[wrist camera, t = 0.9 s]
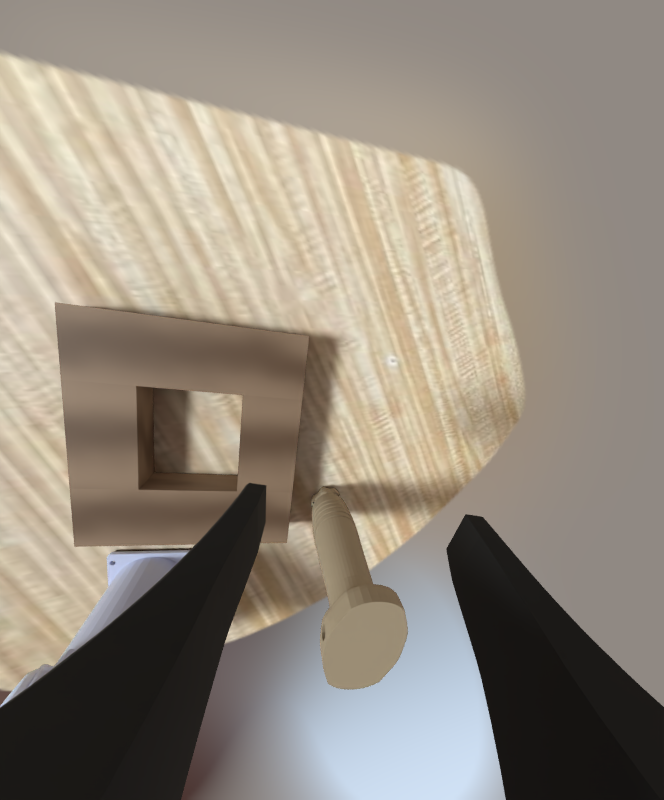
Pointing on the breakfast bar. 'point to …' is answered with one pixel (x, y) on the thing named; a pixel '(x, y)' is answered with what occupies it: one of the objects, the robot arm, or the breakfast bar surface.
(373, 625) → the handle
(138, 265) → the breakfast bar surface
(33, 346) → the breakfast bar surface
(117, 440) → the socket plate
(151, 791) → the robot arm
